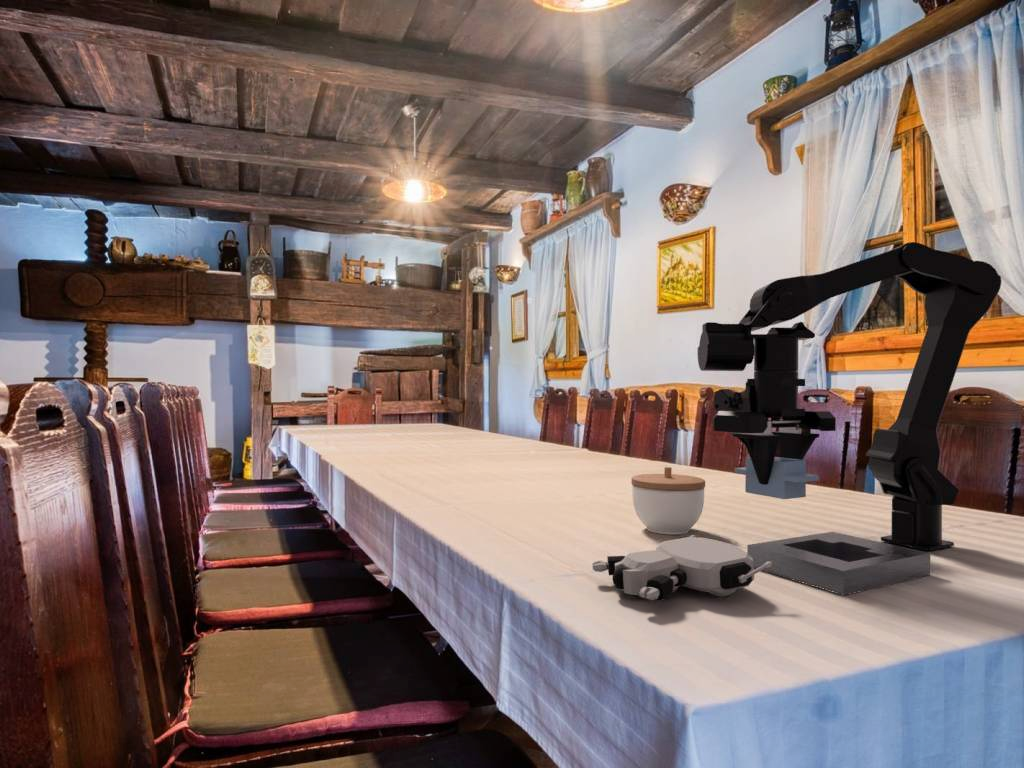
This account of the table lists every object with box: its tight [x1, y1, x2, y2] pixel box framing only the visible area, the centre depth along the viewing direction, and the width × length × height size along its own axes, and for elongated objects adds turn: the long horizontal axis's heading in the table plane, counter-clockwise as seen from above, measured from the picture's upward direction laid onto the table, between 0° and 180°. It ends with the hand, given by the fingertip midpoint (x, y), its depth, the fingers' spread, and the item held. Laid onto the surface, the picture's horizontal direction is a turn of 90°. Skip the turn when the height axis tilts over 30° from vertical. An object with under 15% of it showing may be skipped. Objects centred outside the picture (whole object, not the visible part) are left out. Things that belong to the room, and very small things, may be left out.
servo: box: [734, 456, 820, 500], centre depth 87 cm, size 6×10×5 cm, turn 28°
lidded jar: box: [631, 466, 706, 536], centre depth 93 cm, size 11×11×9 cm
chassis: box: [746, 531, 931, 596], centre depth 72 cm, size 16×12×2 cm
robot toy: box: [592, 534, 772, 602], centre depth 64 cm, size 12×4×15 cm
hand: (775, 483), depth 86 cm, fingers closed on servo, 4 cm apart
